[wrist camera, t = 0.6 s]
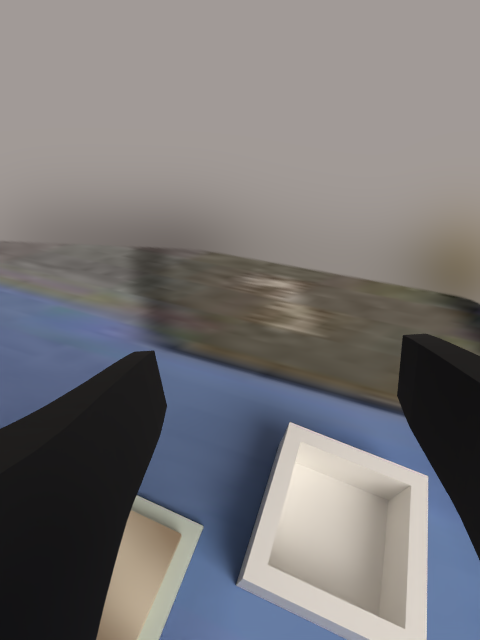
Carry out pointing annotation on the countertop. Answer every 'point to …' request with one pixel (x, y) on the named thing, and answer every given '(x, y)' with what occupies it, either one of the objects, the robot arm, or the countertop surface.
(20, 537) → the robot arm
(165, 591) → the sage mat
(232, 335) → the countertop surface
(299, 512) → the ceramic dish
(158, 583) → the birch lid
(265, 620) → the countertop surface
